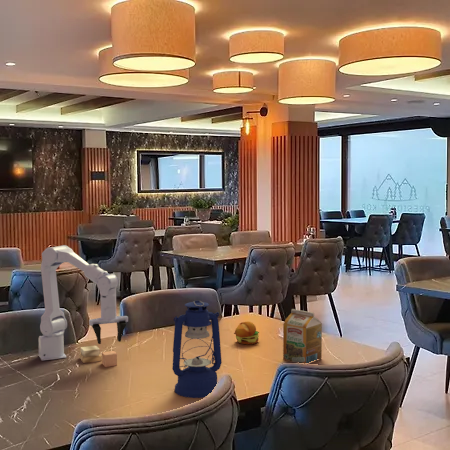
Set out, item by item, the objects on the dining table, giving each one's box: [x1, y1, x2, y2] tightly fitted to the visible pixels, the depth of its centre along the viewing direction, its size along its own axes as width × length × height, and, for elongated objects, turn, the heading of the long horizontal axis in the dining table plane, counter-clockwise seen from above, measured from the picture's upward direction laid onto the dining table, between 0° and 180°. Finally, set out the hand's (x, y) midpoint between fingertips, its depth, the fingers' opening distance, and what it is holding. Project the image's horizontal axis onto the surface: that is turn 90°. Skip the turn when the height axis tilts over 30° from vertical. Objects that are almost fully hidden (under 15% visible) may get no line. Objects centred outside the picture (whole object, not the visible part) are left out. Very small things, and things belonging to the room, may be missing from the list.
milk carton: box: [282, 308, 323, 364], centre depth 237 cm, size 11×11×19 cm
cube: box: [101, 350, 118, 368], centre depth 232 cm, size 4×4×4 cm
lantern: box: [171, 300, 223, 399], centre depth 203 cm, size 17×15×30 cm
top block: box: [80, 345, 101, 357], centre depth 239 cm, size 6×6×2 cm
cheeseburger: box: [233, 321, 260, 345], centre depth 262 cm, size 10×11×10 cm
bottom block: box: [79, 352, 102, 364], centre depth 239 cm, size 7×7×2 cm
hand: (109, 342), depth 232 cm, fingers open, 7 cm apart
